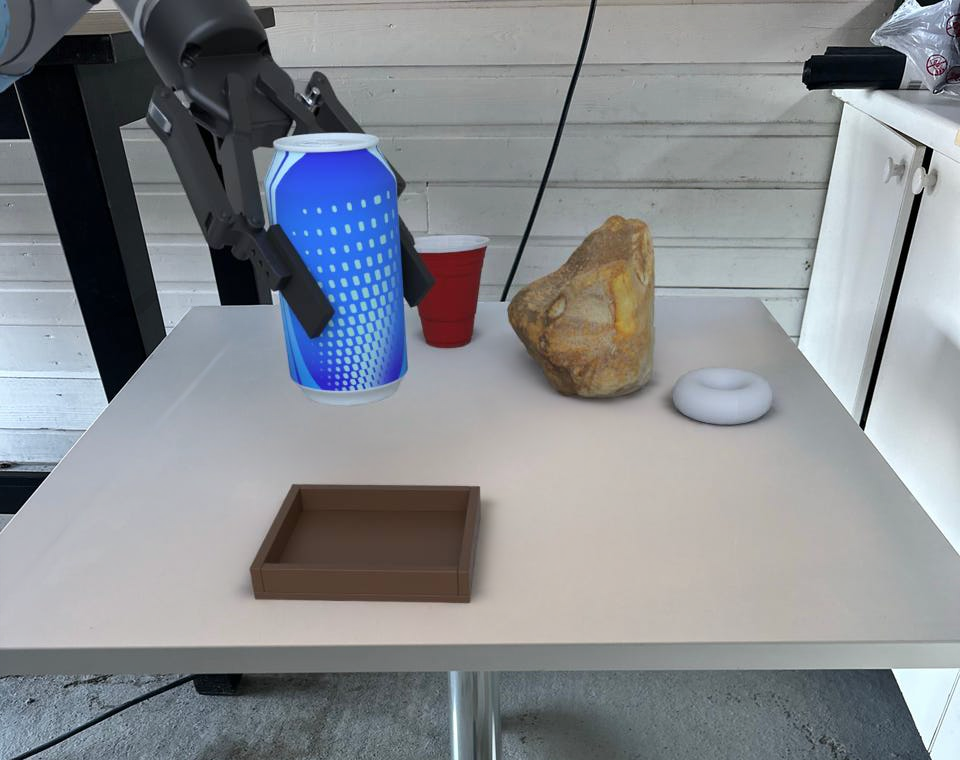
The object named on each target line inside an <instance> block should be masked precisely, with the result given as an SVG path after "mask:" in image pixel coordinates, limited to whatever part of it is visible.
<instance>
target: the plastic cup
mask: <svg viewBox="0 0 960 760" xmlns="http://www.w3.org/2000/svg"><path fill="white" fill-rule="evenodd" d="M413 238H414V241H415V245H414V248H415V249H416V251H417V252H418V254H419V255H420V257H421V259H422V260H423V262H424V263H425V265H426V266H427V268H428V270H429V271H430V273H431V274H432V276H433V278H434V279H435V281H436V283H435V284H434V286H433V287H432V288H431V290H430V291H429V292H428V294H427V295H426V296H425V297H424V299H423V300H422V301H421V303H420V304H419V305H418V306H416V308H417V314H418V316H419V318H420V325H421V327H422V333H423V338H424V339H425V342H426V344H427V345H428V346H431V347H436V348H443V349H450V348H457V347H464V346H465V345H468V344H470V343H471V341H472V336H473V335H474V334H473V333H474V327H475V326H474V325H475V319H476V314H477V311H478V310H477V309H478V302H479V295H480V287H481V279H482V273H483V272H482V271H483V268H484V261H485V257H486V252H487V248H488V245H490V242H491V239H490V238H489V237H487V236H482V235H474V234H473V235H472V234H445V235H431V236H430V235H429V236H422V237H413Z"/></svg>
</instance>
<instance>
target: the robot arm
mask: <svg viewBox="0 0 960 760" xmlns="http://www.w3.org/2000/svg"><path fill="white" fill-rule="evenodd" d="M102 1H103V0H0V94H1V93H3V92H4V91H6V89H8V88H9V87H10V86H11V85H13V84H14V83H15V82H16V81H18V80H19V79H21V78H22V77H23V76H26V75H29V74H31V72H32V71H33V70H34V68H35V64H37V63H38V62H39V60H41V59H42V58H43V56H45V55H46V54H47V53H48V52H49V51H50V50H51V49H52V48H53V47H54V46H55V45H56V44H57V43H58V42H59V41H60V40H61V39H62V38H63V37H64V36H65V35H67V33H68V32H69V31H70V30H72V28H74V26H75V25H77V23H78V22H79V21H80V20H81V19H82V18H83V17H85V15H86V14H87V13H88V12H89V11H90V10H91V9H92V8H94V6H96V5H98V4H100V3H101V2H102ZM111 1H112V2H113V5H114V6H115V7H116V9H117V11H118V12H119V14H120V15H121V17H122V19H123V20H124V22H125V23H126V24H127V26H128V28H129V29H130V31H131V32H132V35H134V37H135V39H136V40H137V42H138V43H139V45H141V46H142V47H143V48H144V52H145V54H146V56H147V58H148V60H149V62H150V63H151V65H152V66H153V68H154V69H155V71H156V73H157V74H158V75H159V77H160V78H161V80H162V82H163V83H164V84H156V85H155V87H154V89H153V93H152V96H151V99H150V102H149V106H148V108H147V109H148V110H147V113H146V116H145V122H146V124H147V125H148V127H149V128H150V129H151V131H152V132H153V133H154V134H155V135H156V136H157V138H158V139H159V141H161V143H162V144H163V145H164V147H165V148H166V150H167V153H168V155H169V158H170V159H171V162H172V164H173V167H174V170H175V172H176V174H177V176H178V179H179V181H180V183H181V186H182V188H183V191H184V193H185V196H186V198H187V200H188V202H189V205H190V208H191V209H192V212H193V214H194V216H195V219H196V221H197V223H198V226H199V228H200V230H201V233H202V235H203V238H204V241H205V242H206V244H207V245H208V246H209V247H210V248H212V249H215V250H221V249H223V248H224V247H225V246H231V247H232V248H231V250H230V252H231V254H232V255H233V257H234V258H236V259H237V260H239V261H246V260H250V262H251V263H252V265H253V266H254V268H255V270H256V271H257V272H258V274H259V277H260V278H261V279H262V280H263V282H264V284H265V285H266V287H268V288H269V290H271V291H272V292H278V290H279V291H280V292H281V294H282V296H283V297H284V299H285V300H286V302H287V303H288V305H289V307H290V308H291V310H292V311H293V313H294V314H295V316H296V318H297V319H298V321H299V322H300V324H301V325H302V327H303V329H304V330H305V332H306V333H307V335H308V336H309V338H310V339H313V338H316V337H319V336H320V335H321V333H322V332H323V330H324V329H325V327H326V326H327V324H328V322H329V321H330V319H331V318H332V316H333V315H334V313H335V310H334V309H333V307H332V306H331V304H330V303H329V301H328V299H327V298H326V296H325V295H324V293H323V291H322V290H321V288H320V287H319V285H318V284H317V282H316V280H315V279H314V277H313V276H312V274H311V273H310V271H309V269H308V268H307V266H306V265H305V263H304V262H303V260H302V258H301V257H300V255H299V254H298V252H297V251H296V249H295V247H294V246H293V244H292V243H291V241H290V240H289V238H288V237H287V235H286V234H285V232H284V231H283V229H282V227H281V226H280V224H275V225H271V226H268V228H267V229H266V228H265V226H266V219H265V218H266V217H265V212H264V207H263V206H264V205H263V202H262V201H263V200H262V196H261V191H260V185H259V179H258V173H257V167H256V163H255V162H256V161H255V157H254V150H257V149H258V148H266V149H267V148H268V149H275V148H274V146H273V142H274V141H275V140H277V139H280V138H284V137H289V136H288V135H289V133H290V131H291V129H292V127H293V125H294V123H295V128H294V130H293V131H292V134H291V136H296V135H305V134H319V133H358V134H367V133H366V131H365V130H364V129H363V128H362V126H361V125H359V123H358V122H357V121H356V120H355V119H354V117H353V116H352V115H351V114H350V112H349V111H348V109H347V108H346V107H344V105H343V104H342V103H341V101H340V100H339V99H338V97H337V95H336V93H335V90H334V89H333V87H332V84H331V82H330V80H329V78H328V77H327V76H326V75H325V74H324V73H323V72H321V71H318V70H315V71H313V72H312V74H311V75H310V78H309V80H295V79H293V78H292V77H291V75H290V74H289V73H288V72H287V71H285V70H284V69H283V68H282V67H281V66H279V64H278V63H277V62H276V61H275V60H274V58H273V55H272V52H271V48H270V43H269V38H268V33H267V32H266V29H265V27H264V25H263V23H262V22H261V20H260V18H259V17H258V15H257V13H255V11H254V9H253V8H252V6H251V5H250V3H249V1H248V0H111ZM197 124H198V125H200V127H201V126H202V127H203V128H204V129H206V131H209V132H210V133H211V135H212V136H213V142H214V147H215V153H216V160H217V163H218V164H219V165H221V168H222V169H221V170H222V177H223V183H224V186H223V183H222V181H221V179H220V177H219V174H218V172H217V170H216V167H215V165H214V163H213V160H212V158H211V156H210V153H209V151H208V148H207V145H206V144H205V141H204V139H203V137H202V134H201V132H200V129H199V127H198V125H197ZM382 155H383V156H384V158H385V160H386V161H387V163H388V164H389V166H390V168H391V169H392V171H393V173H394V175H395V177H396V184H397V200H399V198H401V195H402V194H403V193H404V191H405V189H406V187H407V183H406V180H405V179H404V178H403V176H402V175H401V174H400V173H399V172H398V170H397V169H396V168H395V167H394V165H392V163H391V162H390V161H389V160H388V159H387V158H386V157H387V156H385V155H384V153H382ZM398 216H399V232H400V248H401V264H402V280H403V296H404V301H406V304H407V305H408V306H409V308H411V309H412V308H415V307H417V306H418V305H419V304H420V303H421V301H422V300H423V299H424V297H425V296H426V295H427V294H428V292H429V291H430V290H431V288H432V287H433V286H434V284H435V283H436V281H435V279H434V278H433V276H432V274H431V273H430V271H429V270H428V268H427V266H426V265H425V263H424V262H423V260H422V259H421V257H420V255H419V254H418V252H417V251H416V249H415V248H414V245H415V241H414V238H415V237H414V236H413V234H412V233H411V230H409V228H408V226H407V225H406V223H405V222H404V220H403V219H402V216H401V215H400V213H398Z"/></svg>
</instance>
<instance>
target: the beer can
mask: <svg viewBox="0 0 960 760" xmlns="http://www.w3.org/2000/svg"><path fill="white" fill-rule="evenodd" d="M379 144H380V139H379V137H378V136H376V135H374V134H368V133H366V134H358V133H319V134H305V135H296V136H292V135H289V136H288V137H284V138H280V139H277V140H275V141H274V142H273V146H274V148H273V149H274V150H275V151H274V155H273V157H272V160H271V162H270V164H269V167H268V170H267V173H266V175H265V178H264V181H263V189H264V196H265V203H266V205H265V206H266V211H267V219H268V225H269V226H271V225H275V224H280V226H281V227H282V229H283V231H284V232H285V234H286V235H287V237H288V238H289V240H290V241H291V243H292V244H293V246H294V247H295V249H296V251H297V252H298V254H299V255H300V257H301V258H302V260H303V262H304V263H305V265H306V266H307V268H308V269H309V271H310V273H311V274H312V276H313V277H314V279H315V280H316V282H317V284H318V285H319V287H320V288H321V290H322V291H323V293H324V295H325V296H326V298H327V299H328V301H329V303H330V304H331V306H332V307H333V309H334V310H335V313H334V315H333V316H332V318H331V319H330V321H329V322H328V324H327V326H326V327H325V329H324V330H323V332H322V333H321V335H320V336H319V337H316V338H313V339H310V338H309V336H308V335H307V333H306V332H305V330H304V329H303V327H302V325H301V324H300V322H299V321H298V319H297V318H296V316H295V314H294V313H293V311H292V310H291V308H290V307H289V305H288V303H287V302H286V300H285V299H284V297H283V296H282V294H281V292H280V291H279V290H278V291H277V293H278V298H279V305H280V306H279V307H280V313H281V320H282V326H283V334H284V341H285V348H286V349H285V350H286V357H287V362H288V363H287V364H288V371H289V377H290V380H291V381H292V382H293V383H294V384H295V385H296V386H297V387H299V389H300V390H301V392H302V394H303V396H304V397H305V398H306V399H308V400H309V401H311V402H313V403H317V404H321V405H326V406H334V407H353V406H354V407H355V406H362V405H363V406H364V405H369V404H373V403H377V402H380V401H384V400H385V399H388V398H390V397H392V396H393V395H394V394H395V393H396V392H397V391H398V389H399V388H400V384H401V381H402V380H403V379H404V377H406V375H407V373H408V371H409V364H408V363H409V361H408V345H407V330H406V316H405V315H406V314H405V313H406V312H405V298H404V296H403V280H402V264H401V248H400V232H399V216H398V214H399V204H398V202H399V201H398V200H399V199H398V200H397V184H396V177H395V175H394V173H393V171H392V169H391V168H390V166H389V164H388V163H387V161H386V160H385V158H384V156H385V155H384V154H383V152H382V151H381V150H380V148H379ZM382 154H383V155H384V156H383V155H382ZM269 226H268V227H269Z"/></svg>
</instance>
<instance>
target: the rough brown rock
mask: <svg viewBox="0 0 960 760" xmlns="http://www.w3.org/2000/svg"><path fill="white" fill-rule="evenodd" d="M652 236H653V235H652V233H651V230H650V228H649V226H648V224H647V222H645V221H643V220H641V219H639V218H632V217H631V218H627V219H626V218H624V217H623V216H621V215H619V214H614V215H611V216H609V217H607V219H606V220H605V221H604V223H603V224H602V225H601V226H600V227H598V228H597V229H594V230H593V231H591V232H589V234H588V235H587V236H586V237H585V238H584V239H583V241H582V242H581V243H580V245H579V246H578V247H577V248H575V249H574V251H572V253H571V254H570V255H569V256H568V259H567V260H566V262H565V263H563V264H562V265H561V266H560V267H559V268H558V269H556V270H555V271H553V272H551V273H549V274H547V275H545V276H543V277H541V278H539V279H535V280H533V281H532V282H531V283H529V284H527V285H525V286H524V287H522V288H521V289H520V290H519V291H518V292H517V293H515V295H514V296H513V297H512V298H511V301H510V302H509V303H508V306H507V308H506V311H507V319H508V323H509V325H510V326H511V328H512V330H513V331H514V333H515V335H516V336H517V337H518V339H519V340H520V342H521V343H522V344H523V346H524V348H525V349H526V352H527V353H528V355H529V356H530V357H531V358H532V360H533V361H534V362H535V363H538V365H539V366H540V367H541V369H542V370H543V373H544V374H545V376H546V377H547V379H548V381H549V382H550V384H551V385H552V387H554V389H555V390H556V391H557V392H560V393H561V394H562V395H563V396H566V397H570V396H571V395H573V394H576V395H578V396H580V397H583V398H601V399H602V398H603V399H605V398H614V397H620V396H625V395H626V396H627V395H628V394H631V393H634V392H636V391H638V390H640V389H642V388H643V387H645V386H646V385H647V384H648V383H649V382H650V380H651V378H652V375H653V370H654V352H655V345H656V327H655V325H654V324H655V299H656V297H655V290H656V282H655V281H656V277H655V249H654V242H653V237H652Z"/></svg>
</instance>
